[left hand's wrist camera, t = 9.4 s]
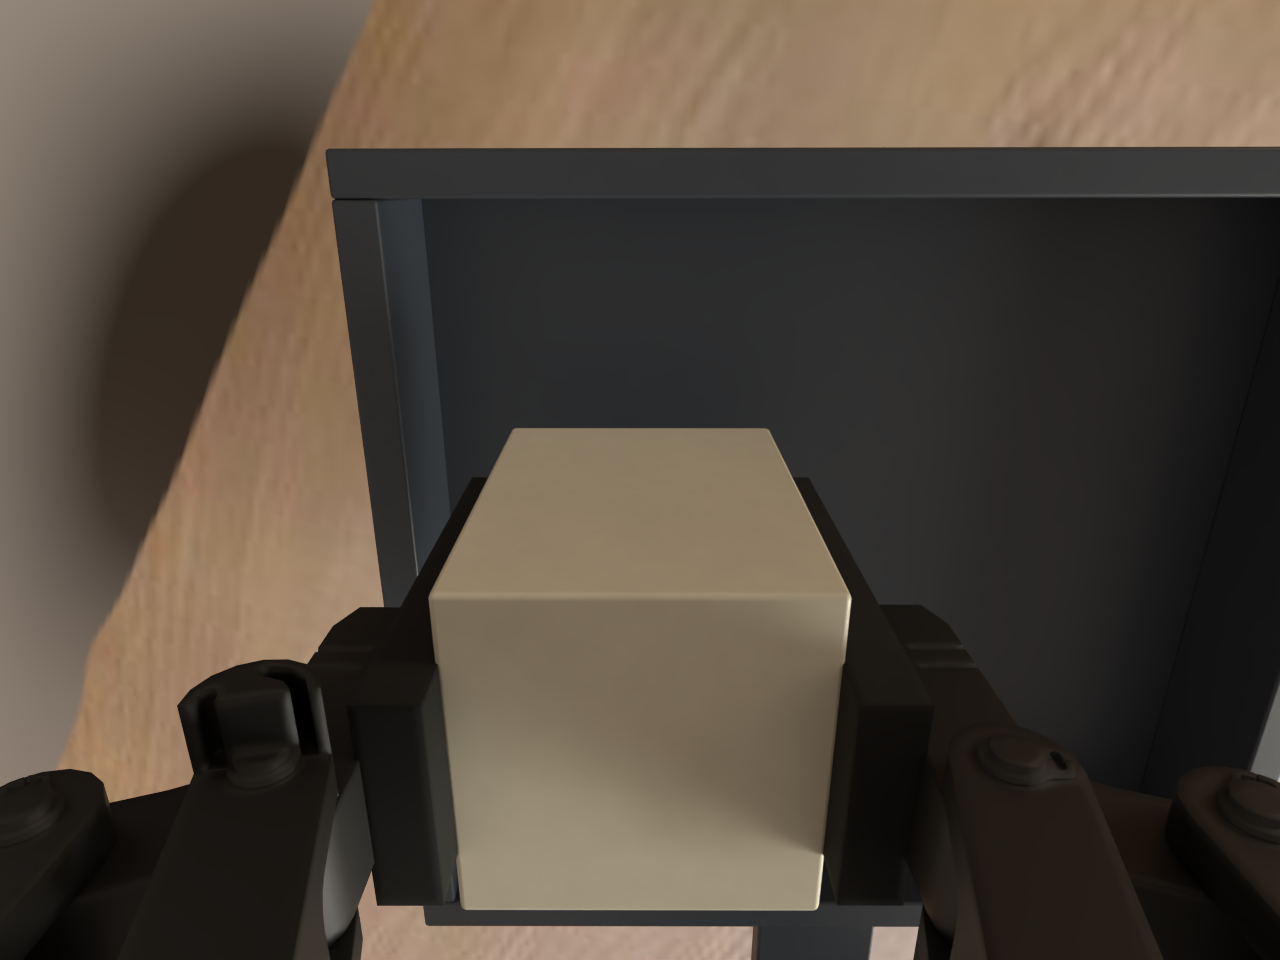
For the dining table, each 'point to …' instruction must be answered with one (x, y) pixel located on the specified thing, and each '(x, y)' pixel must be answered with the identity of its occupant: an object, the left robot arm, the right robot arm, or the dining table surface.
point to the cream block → (640, 675)
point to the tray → (878, 404)
